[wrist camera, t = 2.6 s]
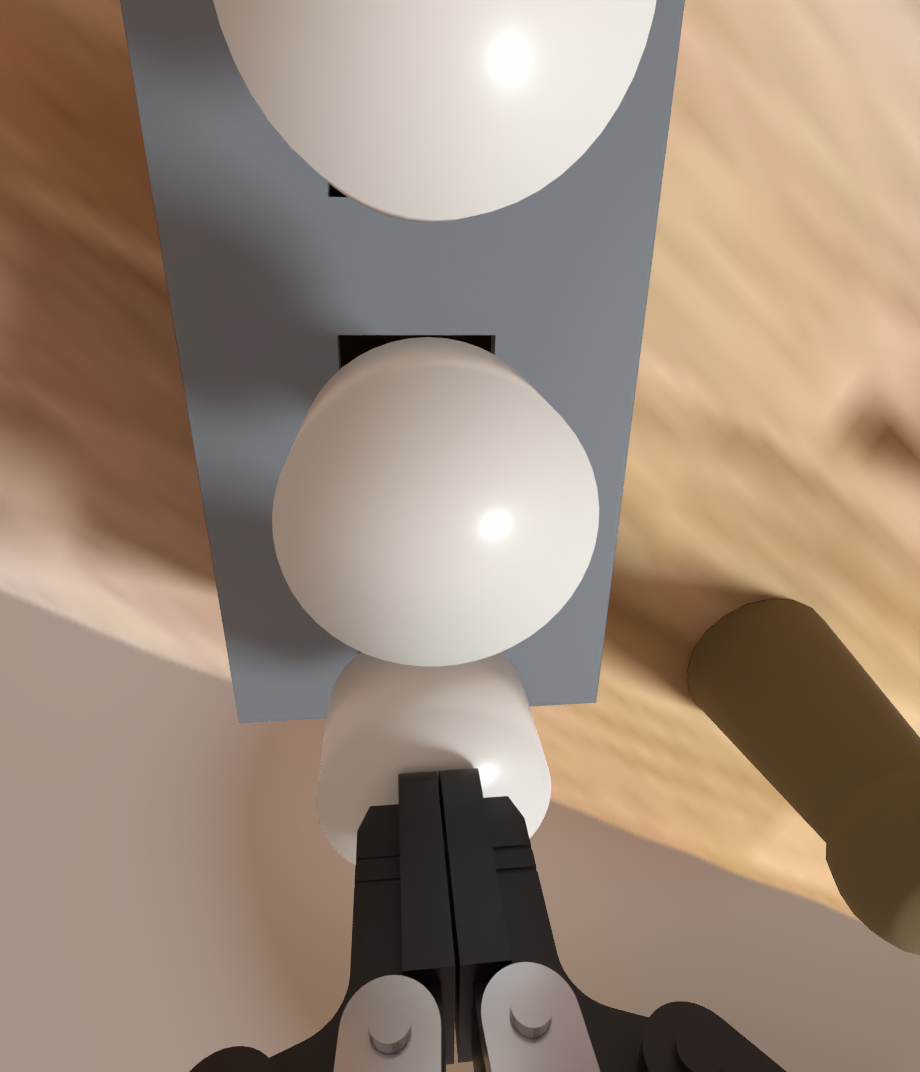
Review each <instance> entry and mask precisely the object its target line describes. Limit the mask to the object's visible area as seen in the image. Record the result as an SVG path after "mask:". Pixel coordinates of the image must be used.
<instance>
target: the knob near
mask: <svg viewBox="0 0 920 1072" xmlns="http://www.w3.org/2000/svg"><path fill="white" fill-rule="evenodd" d="M656 1H657V0H213V2H214V6H215V9H216V13H217V16H218V20H219V24H220V27H221V30H222V32H223V35H224V37H225V40H226V42H227V45H228V47H229V50H230V53H231V55H232V58H233V60H234V62H235V64H236V66H237V68H238V70H239V72H240V74H241V76H242V78H243V80H244V82H245V84H246V86H247V87H248V89H249V91H250V93H251V95H252V96H253V98H254V99H255V101H256V102H257V104H258V105H259V107H260V108H261V110H262V111H263V113H264V114H265V116H266V117H267V119H268V120H269V122H270V123H271V124H272V125H273V127H274V128H275V129H276V130H277V131H278V133H279V134H280V135H281V136H282V137H283V139H284V140H285V141H286V142H287V143H288V145H289V146H290V147H291V148H292V149H293V150H294V151H295V152H296V153H297V154H299V155H300V156H301V157H302V158H303V159H304V160H305V161H306V162H307V163H308V164H309V165H310V166H311V167H312V168H313V169H314V170H315V171H317V172H318V173H319V174H320V175H321V176H322V177H323V178H324V179H325V180H326V181H327V182H328V183H329V184H331V185H332V186H333V187H334V188H336V189H337V190H338V191H340V192H341V193H343V194H344V195H345V196H347V197H348V198H349V199H351V200H353V201H355V202H357V203H358V204H360V205H362V206H364V207H366V208H367V209H370V210H372V211H375V212H378V213H380V214H383V215H385V216H388V217H392V218H396V219H401V220H405V221H412V222H424V223H432V222H448V221H453V220H457V219H462V218H467V217H471V216H476V215H480V214H484V213H488V212H492V211H495V210H498V209H500V208H503V207H506V206H509V205H511V204H514V203H517V202H519V201H520V200H522V199H524V198H526V197H528V196H530V195H532V194H534V193H536V192H537V191H539V190H541V189H542V188H544V187H545V186H546V185H548V184H549V183H551V182H552V181H553V180H555V179H556V178H558V177H559V176H560V175H562V174H563V173H564V172H565V171H566V170H567V169H568V168H569V167H570V166H571V165H573V164H574V163H575V162H576V161H577V160H578V159H579V158H580V157H581V156H582V155H583V154H584V153H585V152H586V150H587V149H588V148H589V147H590V146H591V145H592V143H593V142H594V141H595V140H596V139H597V137H598V136H599V135H600V134H601V133H602V131H603V130H604V128H605V127H606V125H607V124H608V122H609V121H610V119H611V118H612V116H613V114H614V113H615V111H616V110H617V108H618V107H619V105H620V103H621V101H622V99H623V97H624V95H625V93H626V91H627V89H628V87H629V85H630V83H631V82H632V80H633V78H634V75H635V72H636V70H637V67H638V65H639V62H640V59H641V57H642V54H643V51H644V49H645V46H646V43H647V39H648V35H649V31H650V28H651V24H652V20H653V16H654V13H655V7H656Z"/></svg>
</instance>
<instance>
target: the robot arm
mask: <svg viewBox="0 0 920 1072" xmlns="http://www.w3.org/2000/svg"><path fill="white" fill-rule="evenodd" d="M398 794H399V804H394V805H380V806H370V807H369V809H368V811H367V813H366V815H365V817H364V819H363V821H362V823H361V825H360V826H359V828H358V830H357V846H356V867H355V868H356V869H355V888H354V909H353V929H352V949H351V970H350V980H349V986H348V990H347V993H346V995H345V998H344V1001H343V1003H342V1004H341V1006H340V1008H339V1009H338V1011H337V1013H336V1014H335V1015H334V1017H333V1018H332V1019H331V1021H330V1022H328V1023H327V1025H325V1026H324V1028H323V1029H321V1030H320V1031H319V1032H317V1033H316V1034H315V1035H313V1036H312V1037H310V1038H308V1039H307V1040H305V1041H303V1042H301V1043H299V1044H297V1045H295V1046H293V1047H291V1048H289V1049H286V1050H284V1051H282V1052H280V1053H278V1054H276V1055H274V1056H272V1057H270V1058H268V1057H267V1056H266V1055H265V1054H263V1053H262V1052H260V1051H259V1050H256V1049H254V1048H251V1047H244V1046H237V1047H230V1048H225V1049H222V1050H220V1051H217V1052H215V1053H213V1054H211V1055H210V1056H208V1057H206V1058H205V1059H203V1060H202V1061H201V1062H199V1063H198V1064H197V1065H196V1066H195V1067H194V1068H193V1069H192V1070H191V1071H190V1072H446V1064H454V1022H455V1031H456V1042H457V1053H458V1063H459V1062H469V1061H473V1066H474V1072H786V1071H785V1070H784V1069H782V1068H781V1067H780V1066H779V1065H778V1064H776V1063H775V1062H774V1061H773V1060H772V1059H770V1058H769V1057H768V1056H767V1055H766V1054H764V1053H763V1052H762V1051H760V1050H759V1049H758V1048H757V1047H756V1046H755V1045H753V1044H752V1043H751V1042H750V1041H749V1040H747V1039H746V1038H745V1037H743V1036H742V1035H741V1034H740V1033H739V1032H737V1031H736V1030H735V1029H734V1028H733V1027H732V1026H730V1025H729V1024H728V1023H727V1022H726V1021H724V1020H723V1019H722V1018H720V1017H719V1016H718V1015H716V1014H715V1013H714V1012H712V1011H710V1010H709V1009H706V1008H705V1007H703V1006H700V1005H697V1004H695V1003H690V1002H671V1003H668V1004H665V1005H663V1006H661V1007H659V1008H658V1009H657V1010H655V1011H654V1012H653V1014H652V1015H651V1016H650V1017H645V1016H641V1015H637V1014H633V1013H630V1012H625V1011H622V1010H618V1009H614V1008H611V1007H608V1006H605V1005H602V1004H600V1003H598V1002H596V1001H594V1000H592V999H591V998H589V997H588V996H586V995H584V994H583V993H582V992H581V991H580V990H579V989H578V988H577V987H576V986H575V985H574V984H573V983H572V981H571V980H570V979H569V978H568V976H567V975H566V973H565V972H564V970H563V968H562V966H561V964H560V961H559V958H558V955H557V951H556V947H555V943H554V939H553V934H552V930H551V926H550V922H549V918H548V914H547V910H546V905H545V901H544V897H543V893H542V889H541V885H540V881H539V876H538V872H537V871H536V864H535V860H534V855H533V851H532V849H531V843H530V839H529V835H528V830H527V826H526V822H525V818H524V817H523V815H522V814H521V813H520V811H519V810H518V809H517V807H516V806H515V805H514V803H513V802H512V801H511V799H510V798H509V797H508V796H501V797H487V798H483V792H482V787H481V781H480V775H479V771H478V769H477V768H473V769H458V770H443V771H439V791H438V780H437V772H436V771H432V772H417V773H402V774H398Z"/></svg>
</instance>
